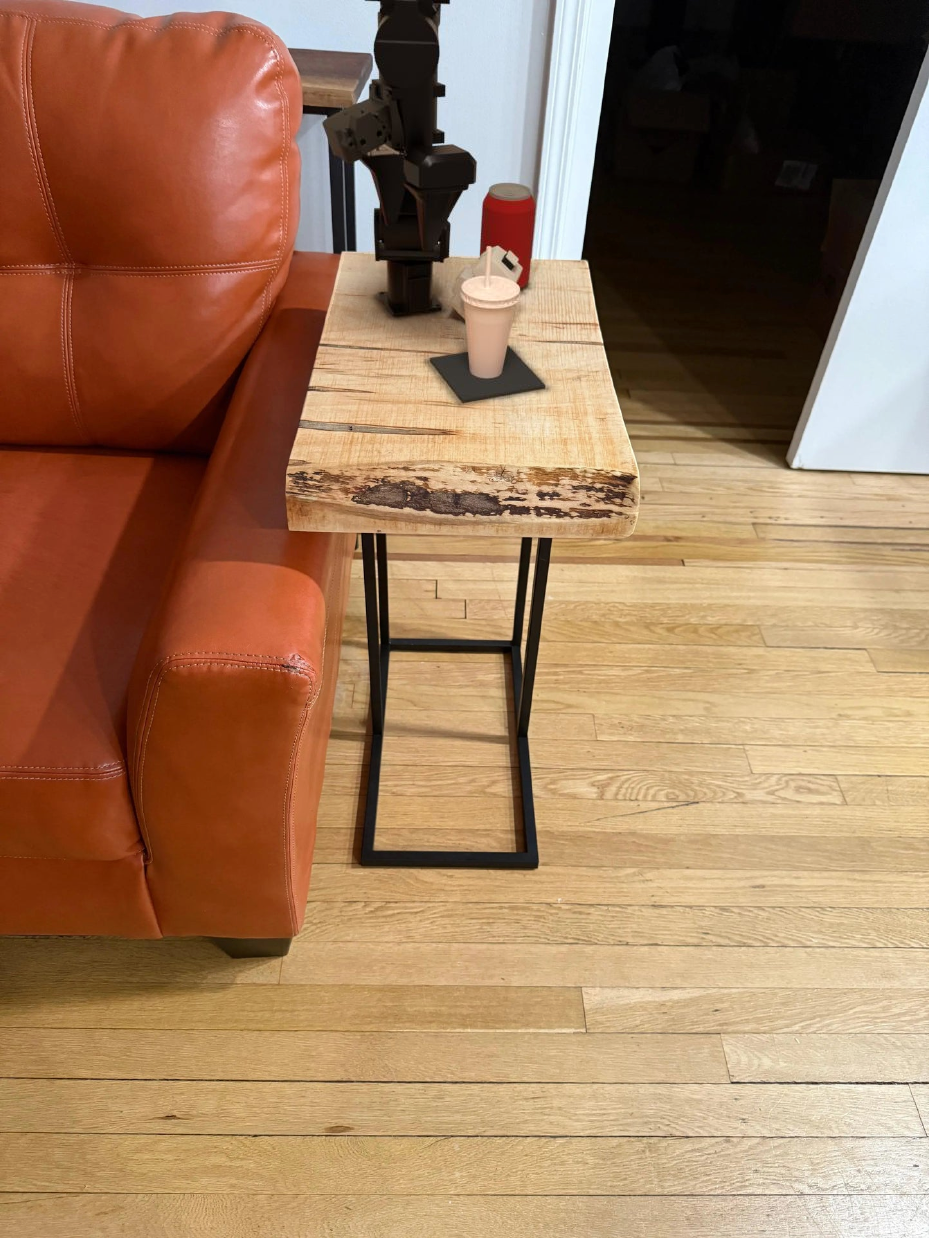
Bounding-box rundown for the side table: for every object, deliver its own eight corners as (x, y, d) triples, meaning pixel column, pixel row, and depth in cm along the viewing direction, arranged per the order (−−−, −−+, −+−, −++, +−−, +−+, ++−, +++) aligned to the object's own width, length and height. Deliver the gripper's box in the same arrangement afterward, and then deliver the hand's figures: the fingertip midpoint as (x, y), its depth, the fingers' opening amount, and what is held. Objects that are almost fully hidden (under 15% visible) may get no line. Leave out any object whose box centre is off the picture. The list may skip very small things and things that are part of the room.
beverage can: (529, 276, 125) (538, 183, 117) (527, 296, 120) (536, 201, 112) (480, 271, 125) (485, 179, 117) (476, 292, 120) (480, 197, 112)
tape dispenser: (473, 342, 114) (529, 289, 108) (434, 303, 112) (489, 247, 106) (483, 322, 118) (538, 270, 112) (446, 284, 116) (500, 229, 110)
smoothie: (446, 367, 104) (449, 243, 95) (487, 351, 108) (495, 229, 98) (483, 390, 101) (491, 263, 91) (525, 372, 104) (537, 248, 95)
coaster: (429, 360, 106) (429, 357, 106) (508, 348, 109) (508, 345, 109) (462, 402, 100) (462, 399, 99) (545, 388, 103) (545, 385, 102)
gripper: (295, 58, 92) (306, 221, 102) (370, 92, 79) (374, 275, 89) (396, 54, 96) (398, 211, 106) (482, 86, 84) (475, 261, 93)
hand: (408, 237), depth 99 cm, fingers open, 9 cm apart
